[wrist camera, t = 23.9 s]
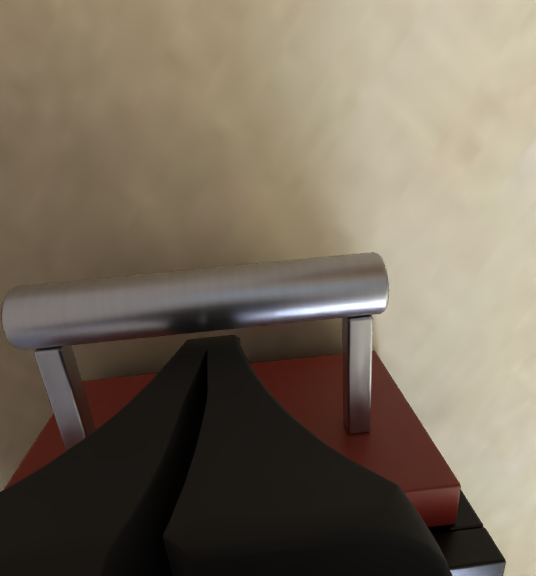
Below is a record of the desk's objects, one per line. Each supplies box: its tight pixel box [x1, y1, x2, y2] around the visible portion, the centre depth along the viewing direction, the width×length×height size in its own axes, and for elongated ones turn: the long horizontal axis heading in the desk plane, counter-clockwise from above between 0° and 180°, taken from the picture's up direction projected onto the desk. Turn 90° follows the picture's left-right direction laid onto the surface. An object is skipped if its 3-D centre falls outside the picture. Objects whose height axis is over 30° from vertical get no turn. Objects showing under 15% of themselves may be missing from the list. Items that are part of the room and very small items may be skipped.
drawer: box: [1, 252, 461, 527], centre depth 12 cm, size 17×10×6 cm, turn 4°
